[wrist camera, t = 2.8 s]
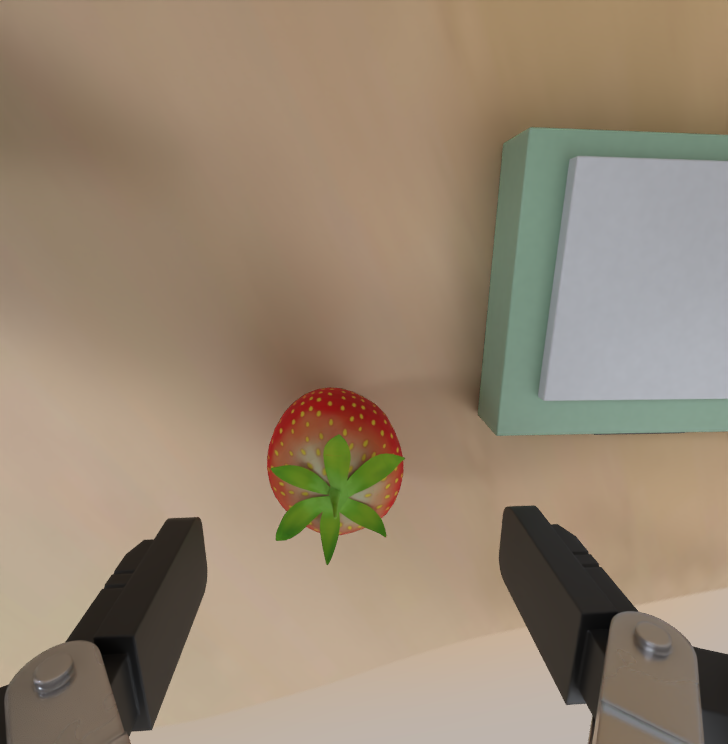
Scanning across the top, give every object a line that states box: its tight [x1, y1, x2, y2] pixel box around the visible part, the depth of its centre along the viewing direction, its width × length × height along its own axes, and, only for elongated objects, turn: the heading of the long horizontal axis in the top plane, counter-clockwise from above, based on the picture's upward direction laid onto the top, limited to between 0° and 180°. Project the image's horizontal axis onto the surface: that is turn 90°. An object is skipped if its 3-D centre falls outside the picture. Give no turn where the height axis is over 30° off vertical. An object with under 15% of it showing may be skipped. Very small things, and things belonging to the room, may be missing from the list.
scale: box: [478, 127, 728, 436], centre depth 18 cm, size 14×12×3 cm
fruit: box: [267, 388, 405, 565], centre depth 17 cm, size 5×5×8 cm
